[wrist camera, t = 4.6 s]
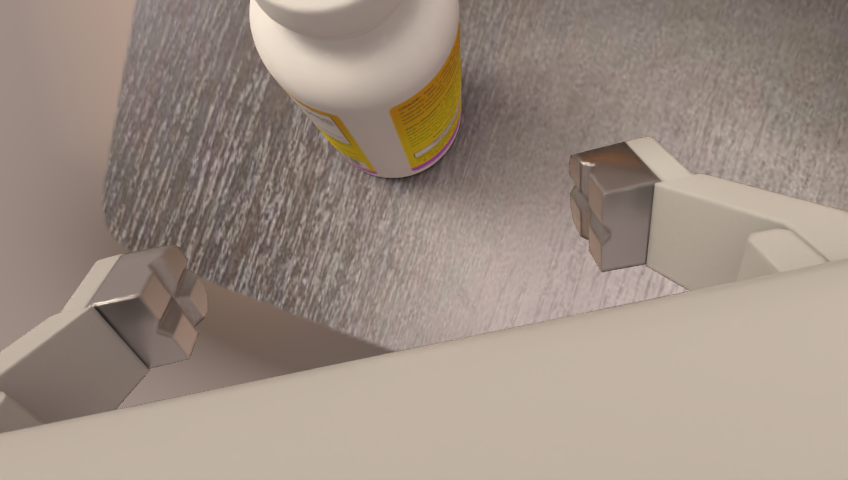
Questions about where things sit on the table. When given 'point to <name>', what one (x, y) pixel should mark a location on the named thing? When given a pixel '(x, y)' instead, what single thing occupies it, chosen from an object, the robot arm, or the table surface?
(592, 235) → the robot arm
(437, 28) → the supplement bottle
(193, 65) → the table surface
